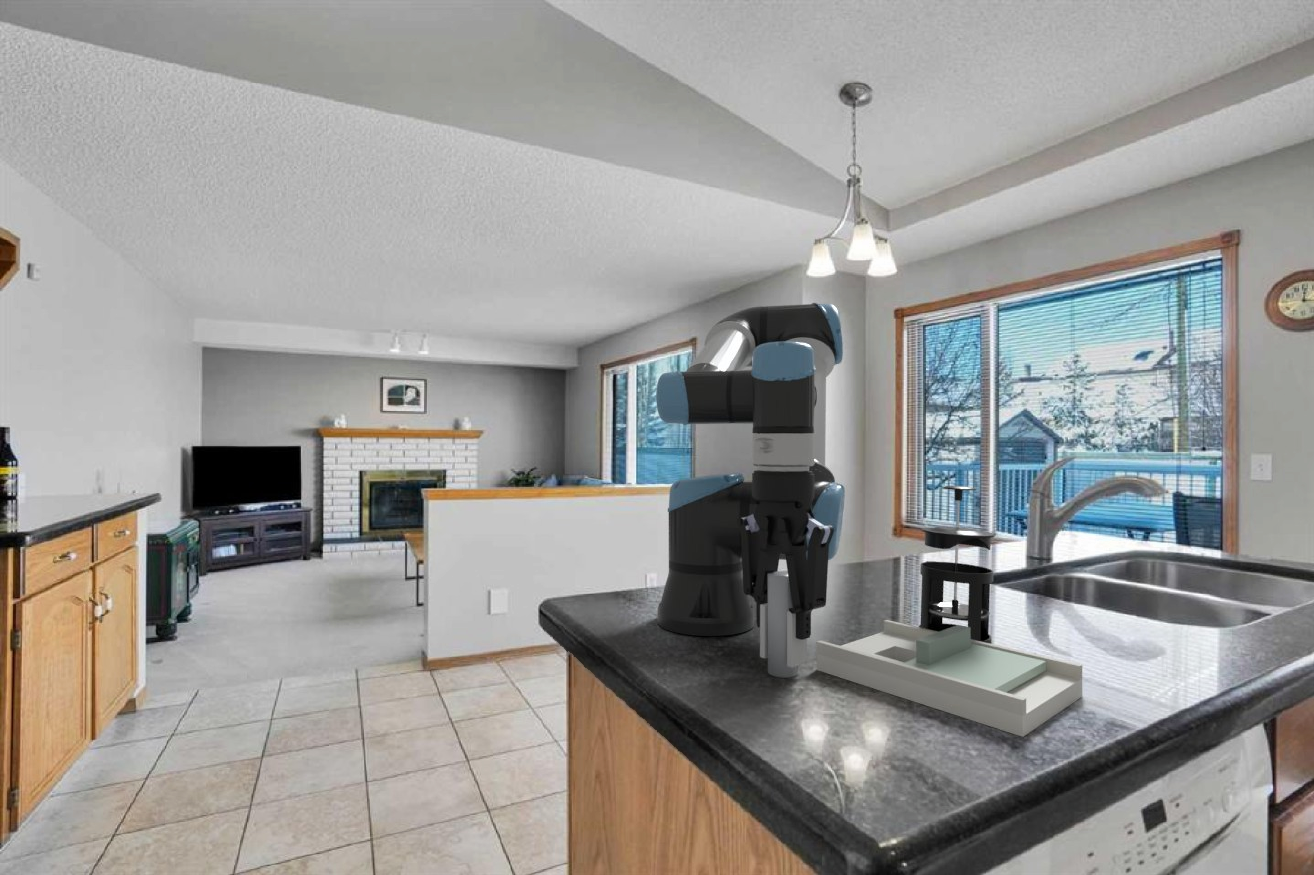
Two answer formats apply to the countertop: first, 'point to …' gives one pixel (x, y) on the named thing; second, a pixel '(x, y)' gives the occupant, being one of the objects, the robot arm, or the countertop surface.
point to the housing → (951, 680)
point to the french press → (956, 579)
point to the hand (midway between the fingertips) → (782, 659)
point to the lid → (973, 660)
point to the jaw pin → (778, 624)
